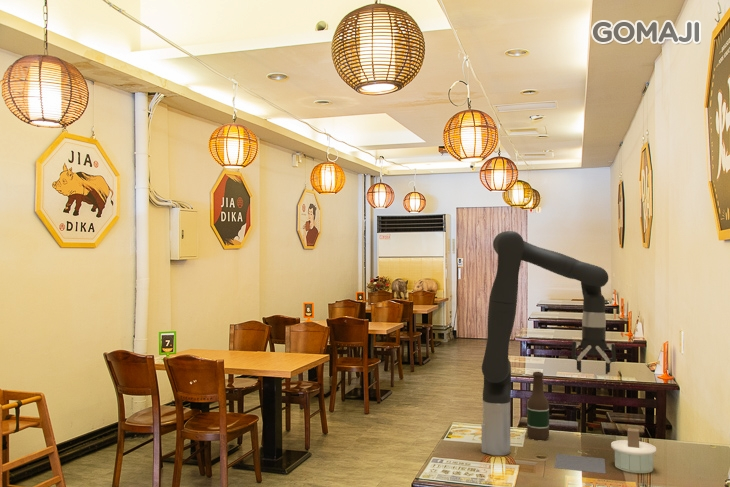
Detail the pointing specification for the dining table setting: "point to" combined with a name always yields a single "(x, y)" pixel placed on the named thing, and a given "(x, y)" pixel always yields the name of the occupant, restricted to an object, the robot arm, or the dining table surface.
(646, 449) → the lid
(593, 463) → the mat
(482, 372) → the robot arm
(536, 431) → the beer bottle
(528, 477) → the dining table surface
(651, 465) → the bowl
